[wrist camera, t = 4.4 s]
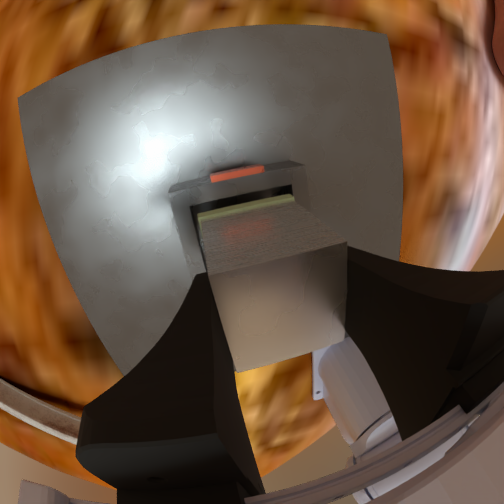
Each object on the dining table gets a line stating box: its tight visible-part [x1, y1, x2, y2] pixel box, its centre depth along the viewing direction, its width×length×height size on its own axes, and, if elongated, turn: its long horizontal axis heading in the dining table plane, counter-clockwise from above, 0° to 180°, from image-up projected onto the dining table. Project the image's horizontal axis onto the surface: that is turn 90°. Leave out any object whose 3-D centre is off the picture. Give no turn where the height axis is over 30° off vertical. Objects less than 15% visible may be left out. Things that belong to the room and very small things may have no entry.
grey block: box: [197, 194, 347, 373], centre depth 11 cm, size 4×4×5 cm
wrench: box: [0, 378, 81, 445], centre depth 19 cm, size 8×2×30 cm
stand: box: [18, 25, 403, 376], centre depth 15 cm, size 22×22×4 cm
